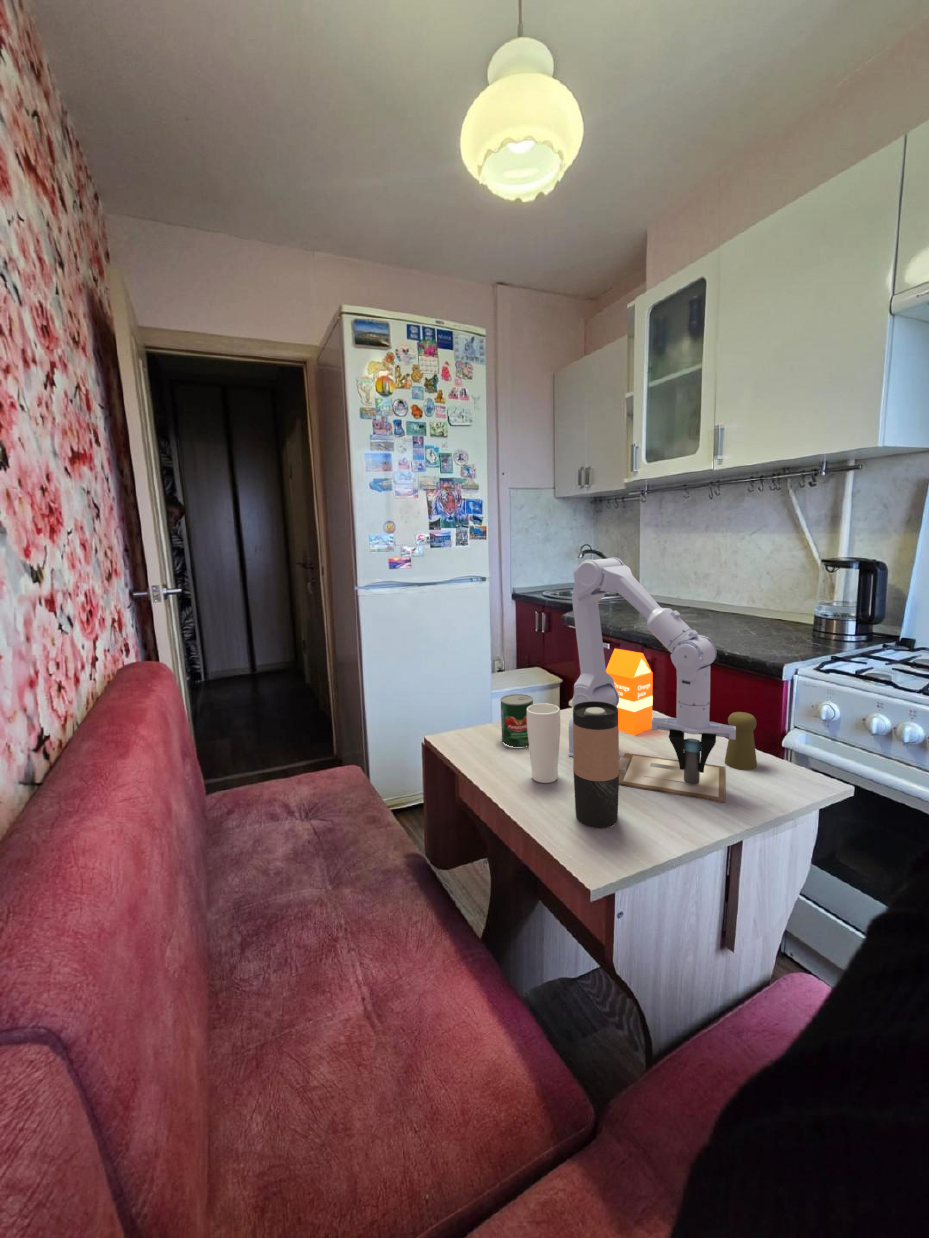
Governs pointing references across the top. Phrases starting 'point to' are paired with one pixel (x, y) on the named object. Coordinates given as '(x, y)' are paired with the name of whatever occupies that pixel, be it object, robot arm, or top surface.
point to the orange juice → (632, 690)
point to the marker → (692, 760)
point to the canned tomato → (515, 719)
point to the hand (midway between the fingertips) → (691, 768)
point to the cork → (742, 742)
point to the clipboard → (670, 777)
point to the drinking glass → (543, 741)
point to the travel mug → (596, 763)
